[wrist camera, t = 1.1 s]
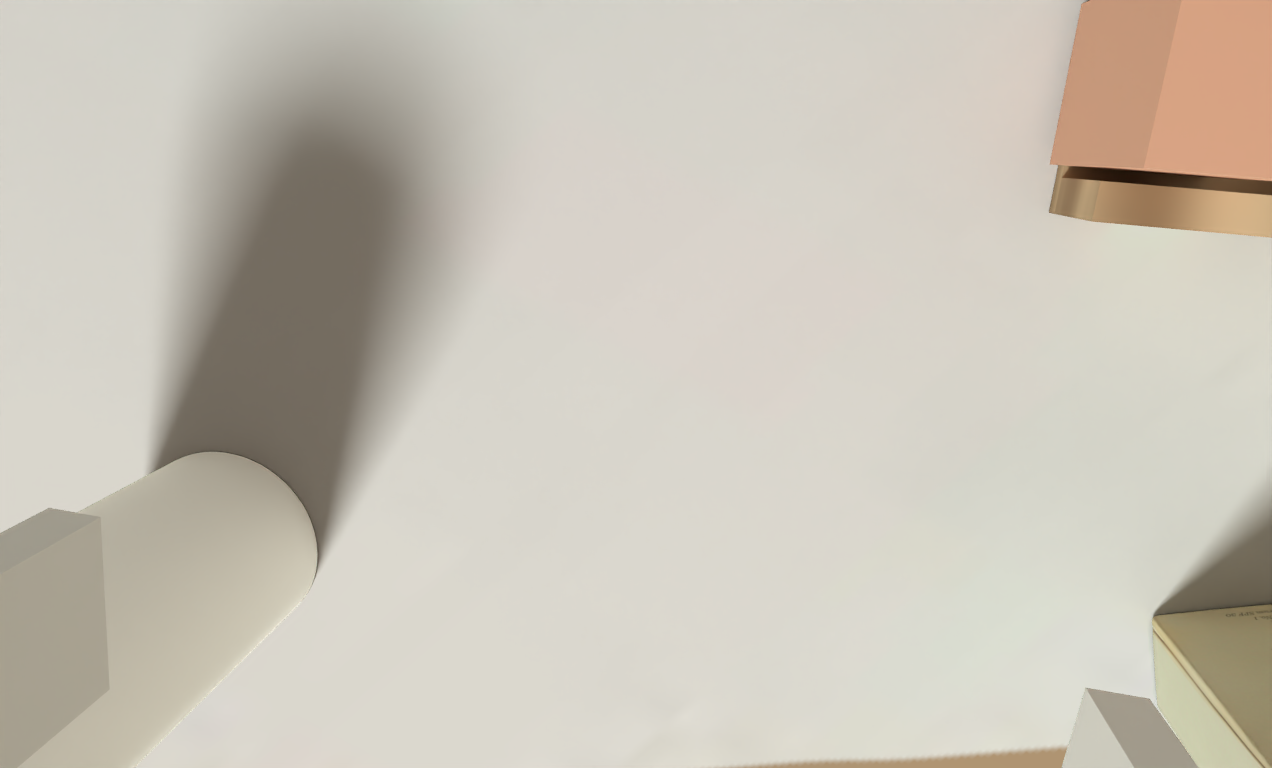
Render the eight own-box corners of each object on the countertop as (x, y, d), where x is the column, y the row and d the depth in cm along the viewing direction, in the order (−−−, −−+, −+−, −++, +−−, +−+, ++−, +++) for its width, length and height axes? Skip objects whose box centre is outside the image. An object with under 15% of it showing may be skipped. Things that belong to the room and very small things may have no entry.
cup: (199, 412, 37) (-194, 596, 22) (354, 536, 38) (76, 802, 22) (107, 545, 39) (-308, 796, 24) (254, 660, 40) (-60, 979, 24)
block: (1049, 164, 30) (1143, 168, 23) (1081, 3, 28) (1192, -47, 21) (1207, 177, 29) (1354, 185, 22) (1246, 14, 28) (1418, -34, 21)
